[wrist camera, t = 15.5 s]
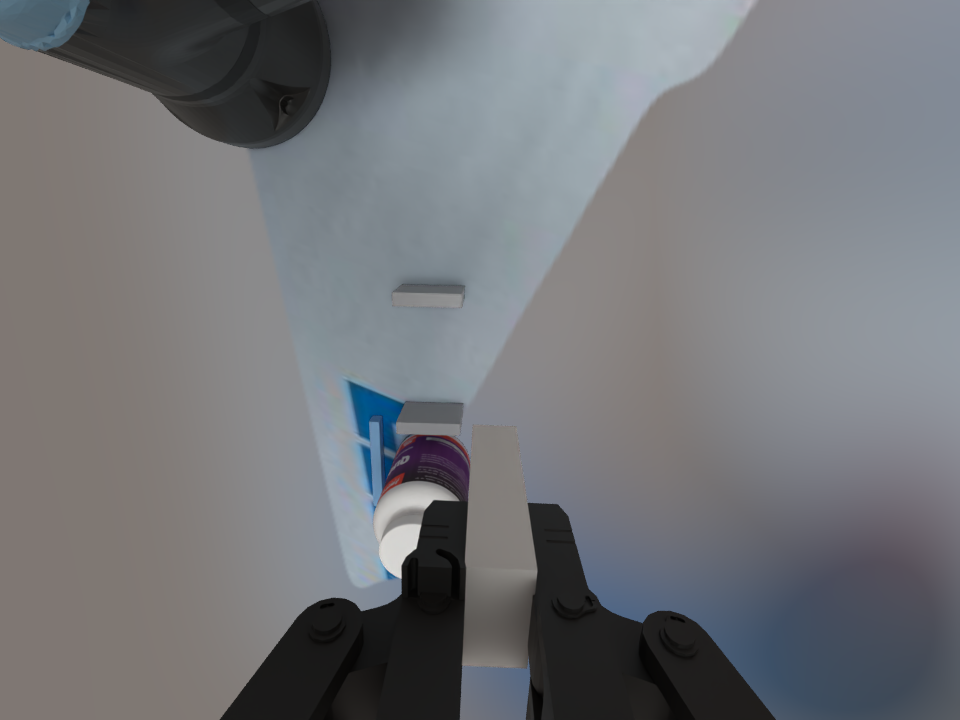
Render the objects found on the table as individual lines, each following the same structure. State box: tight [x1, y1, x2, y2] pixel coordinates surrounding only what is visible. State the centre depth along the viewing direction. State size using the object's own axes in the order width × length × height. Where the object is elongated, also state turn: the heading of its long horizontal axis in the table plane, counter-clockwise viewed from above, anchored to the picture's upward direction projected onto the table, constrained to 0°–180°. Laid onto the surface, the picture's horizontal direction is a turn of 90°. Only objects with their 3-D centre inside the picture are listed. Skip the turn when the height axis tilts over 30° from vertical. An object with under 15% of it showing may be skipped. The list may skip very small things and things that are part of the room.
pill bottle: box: [373, 434, 470, 579], centre depth 42 cm, size 8×8×14 cm
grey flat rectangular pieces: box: [369, 284, 465, 506], centre depth 45 cm, size 10×26×5 cm, turn 179°
